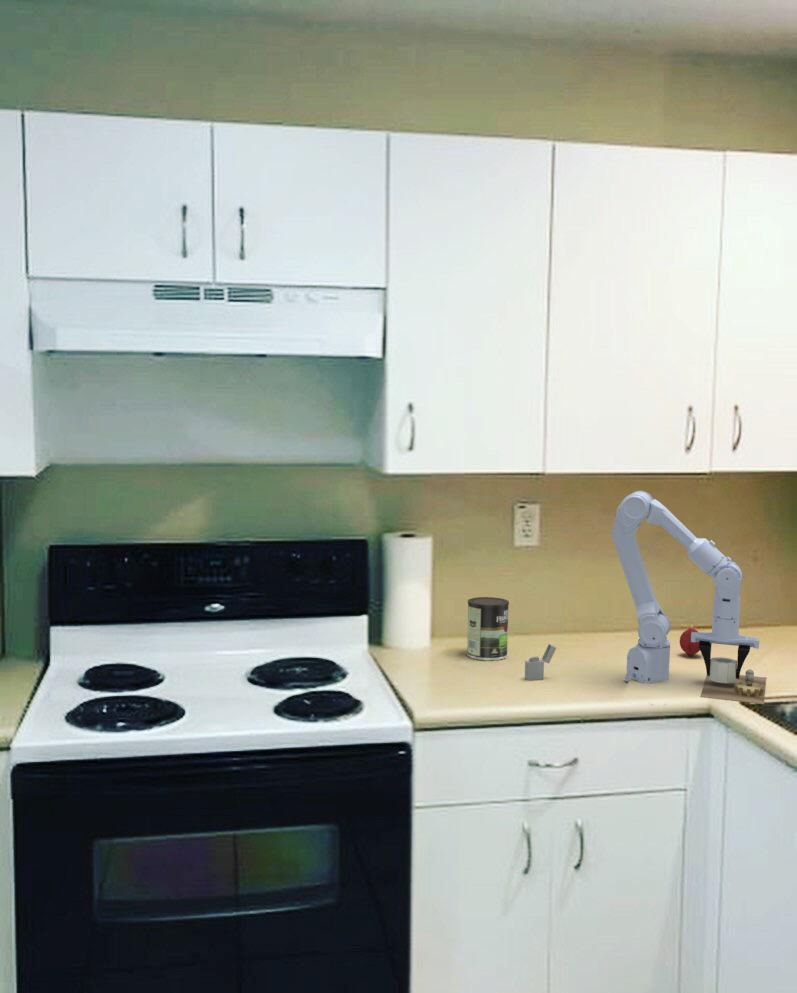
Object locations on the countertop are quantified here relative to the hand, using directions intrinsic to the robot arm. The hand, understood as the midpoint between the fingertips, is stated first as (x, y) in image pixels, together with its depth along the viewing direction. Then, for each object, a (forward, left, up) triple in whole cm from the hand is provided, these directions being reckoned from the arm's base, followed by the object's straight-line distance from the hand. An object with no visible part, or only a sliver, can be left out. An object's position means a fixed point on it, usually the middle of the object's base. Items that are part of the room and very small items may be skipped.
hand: (723, 676), depth 230 cm
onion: (+17, +24, -3) cm, 30 cm away
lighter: (-30, +27, -3) cm, 41 cm away
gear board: (+1, -3, -3) cm, 4 cm away
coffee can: (-28, +50, -3) cm, 58 cm away
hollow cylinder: (0, 0, -1) cm, 1 cm away
